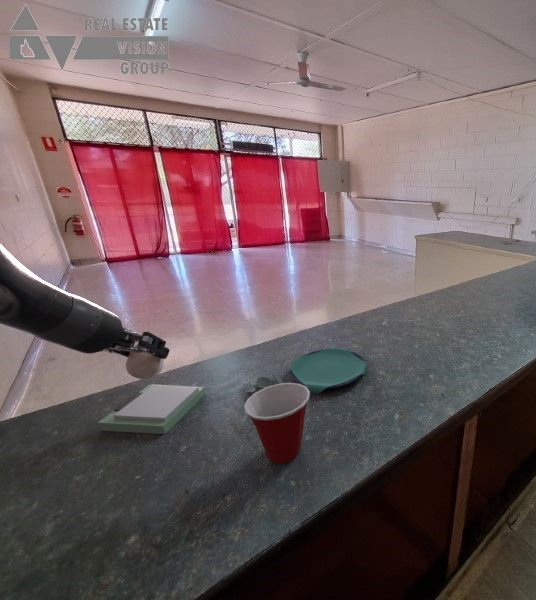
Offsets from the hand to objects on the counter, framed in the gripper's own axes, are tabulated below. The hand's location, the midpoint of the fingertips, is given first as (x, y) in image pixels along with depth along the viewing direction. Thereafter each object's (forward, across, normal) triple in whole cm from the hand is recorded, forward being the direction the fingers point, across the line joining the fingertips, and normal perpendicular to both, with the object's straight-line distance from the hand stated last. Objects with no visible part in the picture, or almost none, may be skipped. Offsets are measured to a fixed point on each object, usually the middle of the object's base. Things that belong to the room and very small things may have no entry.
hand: (149, 353), depth 65 cm
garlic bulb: (+2, 0, +4) cm, 5 cm away
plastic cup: (+2, -31, +17) cm, 35 cm away
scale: (+8, 0, +10) cm, 13 cm away
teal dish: (+19, -29, 0) cm, 35 cm away
